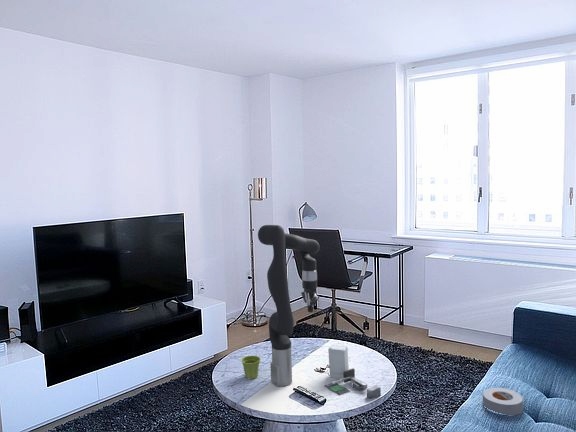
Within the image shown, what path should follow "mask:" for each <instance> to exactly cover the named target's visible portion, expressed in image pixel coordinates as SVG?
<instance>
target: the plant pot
mask: <svg viewBox="0 0 576 432" xmlns="http://www.w3.org/2000/svg"><path fill="white" fill-rule="evenodd" d="M240 361H241V364H242V366H243V371H244V372H243V373H244V377H245V378H246V379H248V378H249V380H252V379H253V380H254V379H257V378H258V377H257V376H259V367H260V362H261V357H260V356H257V355H246V356H244V357H242V358H241V360H240Z"/></svg>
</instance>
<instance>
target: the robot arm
mask: <svg viewBox="0 0 576 432" xmlns="http://www.w3.org/2000/svg"><path fill="white" fill-rule="evenodd" d="M257 239H258V241H259V242H260V244H263V245H265V246H272V249H273V250H272V251H273V254H272V255H273V256H272V257H273V258H272V261H271V263H270V265H269V267H268V270H267V274H266V278H267V279H266V280H267V286H268V290H269V294H270V295H271V298H272V300H273V302H274V304H275V307H276V312H272V314H271V315H270V316H269V320H268V335H269V341H270V344H271V362H270V382H271V383H272V384H273V385H274V386H276V387H286V386H290V385H291V384H292V383H293V372H292V371H293V369H292V368H293V362H292V358H293V357H292V341H291V339H290V338H289V336H288V335H290V334H292V332H293V330H294V327H295V326H294V325H295V322H294V321H295V320H294V316H293V315H294V314H293V311H292V308H291V299H290V290H289V281H288V272H287V263H286V261H287V260H286V248H288V249H290V250H294V251H298V253H299V255H300V259H301V262H302V264H301V265H302V274H301V275H302V276H301V282H302V283H301V285H302V289H303V291H301V296H302V299H303V301H304V303H305V304H306V305H307V312H308V313H313V312H314V305H316V304H317V302H318V300H319V298H320V296H319V295H317V291H316V289H317V288H318V272H317V260H316V259H315V258H313V257H312V256H311V255H315V254H317V253H318V252H319V251H320V247H321V246H320V244H319V242H318V241H317V240H315V239H312V238H311V239H310V238H305V237H302V236H300V235H297V234H293V233H292V234H291V233H285V230H284V228H283V226H282V225H279V224H278V225H277V224H265V225H262V226H260V227H259V229H258V231H257ZM310 254H311V255H310Z"/></svg>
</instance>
